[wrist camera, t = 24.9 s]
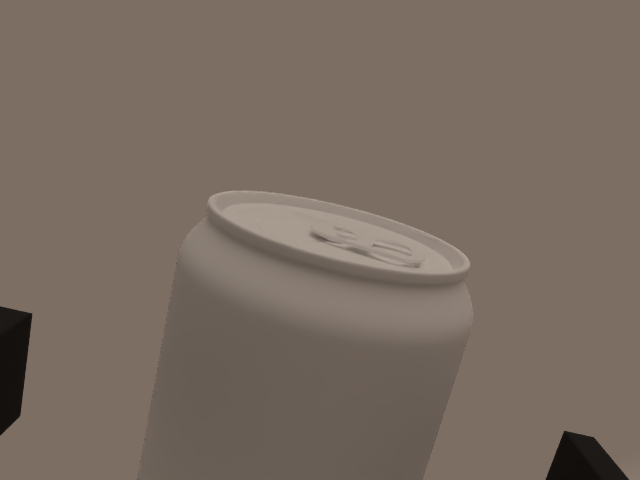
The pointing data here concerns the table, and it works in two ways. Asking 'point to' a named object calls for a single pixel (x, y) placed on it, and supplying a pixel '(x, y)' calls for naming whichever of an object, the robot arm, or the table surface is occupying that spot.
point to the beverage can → (305, 345)
